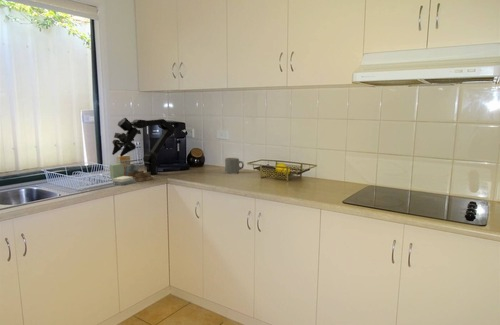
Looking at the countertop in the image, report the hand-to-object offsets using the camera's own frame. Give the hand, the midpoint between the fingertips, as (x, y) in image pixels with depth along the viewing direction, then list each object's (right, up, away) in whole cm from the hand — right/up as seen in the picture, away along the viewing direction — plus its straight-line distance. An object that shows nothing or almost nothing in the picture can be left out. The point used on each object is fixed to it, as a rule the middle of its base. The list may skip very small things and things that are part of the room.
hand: (116, 155), depth 216 cm
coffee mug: (+73, -12, +31) cm, 80 cm away
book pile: (+8, -17, -8) cm, 20 cm away
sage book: (-1, -16, +2) cm, 16 cm away
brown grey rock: (+10, -15, +6) cm, 19 cm away
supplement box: (-4, -13, +23) cm, 26 cm away
